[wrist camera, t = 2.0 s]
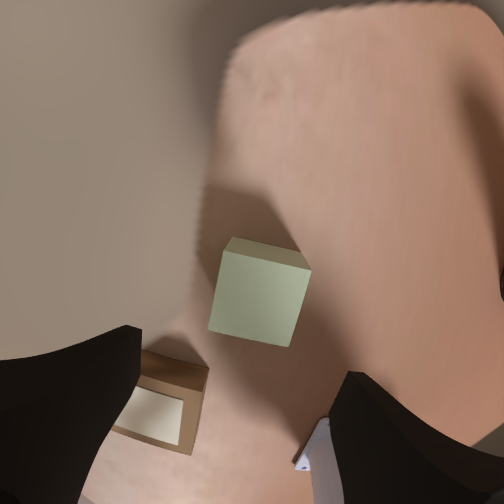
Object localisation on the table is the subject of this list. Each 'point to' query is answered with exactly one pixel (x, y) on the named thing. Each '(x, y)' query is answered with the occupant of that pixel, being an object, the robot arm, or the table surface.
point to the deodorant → (502, 285)
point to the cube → (259, 292)
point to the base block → (165, 404)
